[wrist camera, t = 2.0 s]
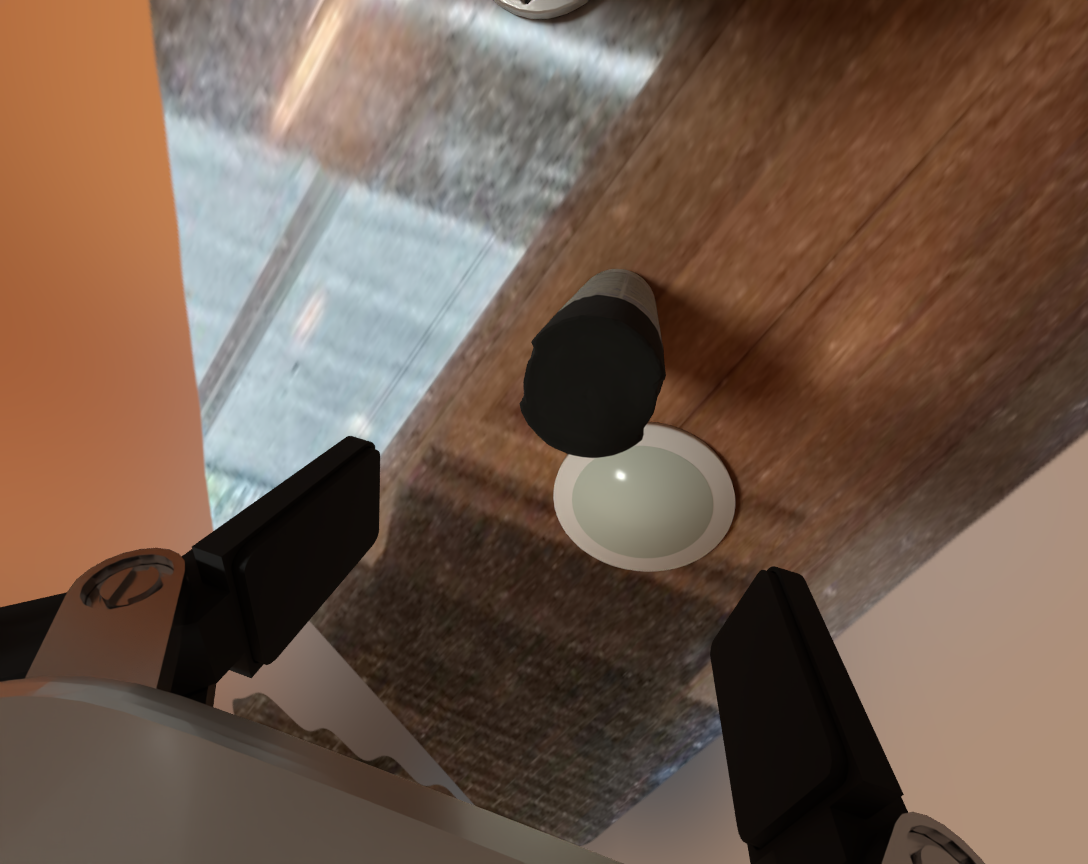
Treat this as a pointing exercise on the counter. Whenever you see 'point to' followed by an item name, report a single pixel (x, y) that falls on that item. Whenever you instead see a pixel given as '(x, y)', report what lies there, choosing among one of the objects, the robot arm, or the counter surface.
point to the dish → (647, 501)
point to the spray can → (597, 368)
